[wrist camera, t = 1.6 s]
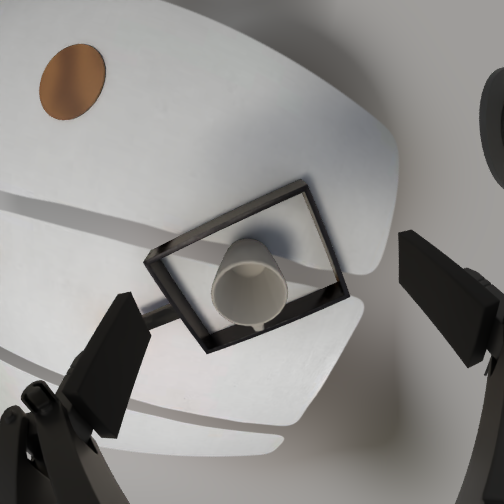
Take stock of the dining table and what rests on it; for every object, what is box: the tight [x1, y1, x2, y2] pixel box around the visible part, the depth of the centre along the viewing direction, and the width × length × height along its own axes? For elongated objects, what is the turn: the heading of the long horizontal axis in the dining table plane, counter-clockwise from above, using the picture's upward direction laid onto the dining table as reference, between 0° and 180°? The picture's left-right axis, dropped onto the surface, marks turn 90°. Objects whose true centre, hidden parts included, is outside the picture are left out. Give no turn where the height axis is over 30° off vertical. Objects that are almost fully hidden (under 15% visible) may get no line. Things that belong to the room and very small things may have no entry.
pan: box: [142, 179, 350, 354], centre depth 37 cm, size 27×15×4 cm, turn 115°
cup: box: [211, 239, 288, 331], centre depth 34 cm, size 8×10×8 cm
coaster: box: [39, 44, 105, 120], centre depth 27 cm, size 10×10×1 cm
